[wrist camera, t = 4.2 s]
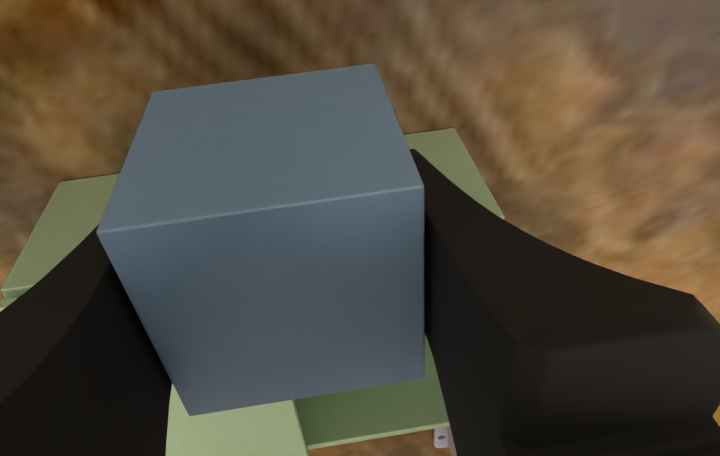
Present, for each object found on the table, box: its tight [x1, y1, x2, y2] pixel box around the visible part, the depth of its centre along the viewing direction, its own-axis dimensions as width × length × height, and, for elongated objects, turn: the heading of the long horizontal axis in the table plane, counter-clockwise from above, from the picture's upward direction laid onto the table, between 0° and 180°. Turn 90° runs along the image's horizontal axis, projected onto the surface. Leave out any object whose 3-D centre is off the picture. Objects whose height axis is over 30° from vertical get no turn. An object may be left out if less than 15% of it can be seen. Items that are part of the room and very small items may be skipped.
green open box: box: [0, 128, 504, 456], centre depth 24 cm, size 17×13×7 cm
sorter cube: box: [97, 63, 425, 416], centre depth 11 cm, size 5×5×5 cm
